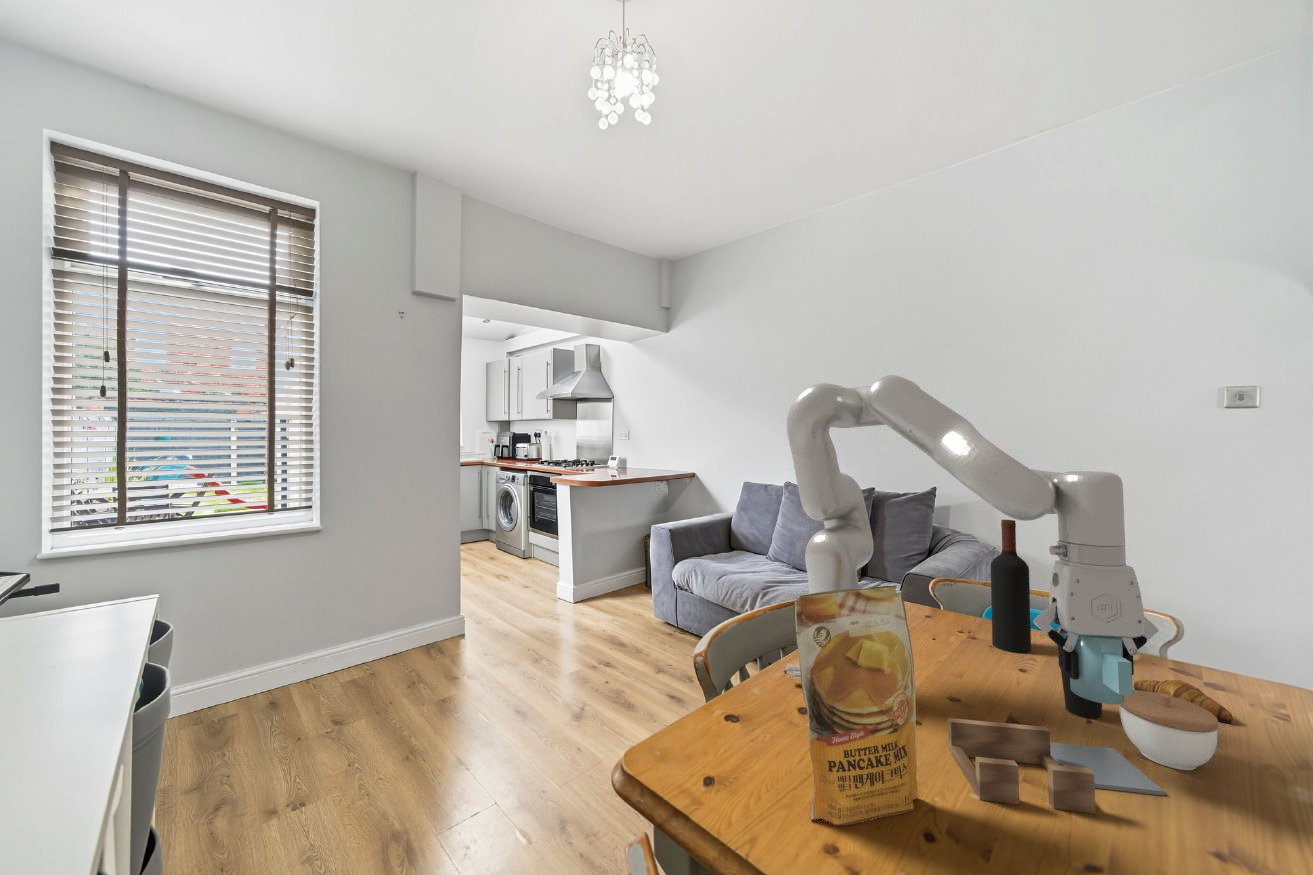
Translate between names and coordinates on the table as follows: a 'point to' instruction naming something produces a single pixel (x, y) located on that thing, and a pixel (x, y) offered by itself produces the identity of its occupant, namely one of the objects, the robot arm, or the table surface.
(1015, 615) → the wine bottle
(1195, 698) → the croissant
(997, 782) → the cradle
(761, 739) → the table surface
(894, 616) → the pancake mix bag
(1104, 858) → the table surface
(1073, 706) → the drinking cup
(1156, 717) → the lidded jar
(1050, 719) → the table surface
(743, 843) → the table surface
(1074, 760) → the coaster
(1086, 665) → the jug
